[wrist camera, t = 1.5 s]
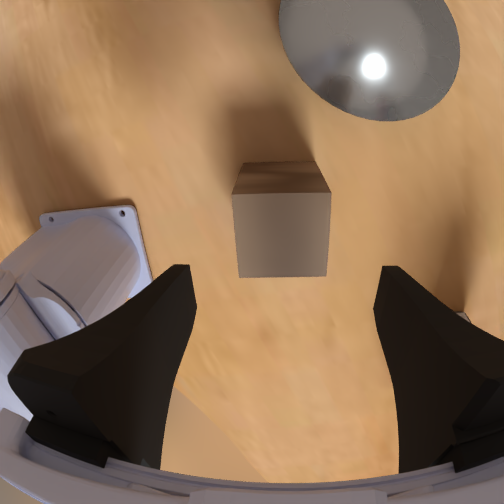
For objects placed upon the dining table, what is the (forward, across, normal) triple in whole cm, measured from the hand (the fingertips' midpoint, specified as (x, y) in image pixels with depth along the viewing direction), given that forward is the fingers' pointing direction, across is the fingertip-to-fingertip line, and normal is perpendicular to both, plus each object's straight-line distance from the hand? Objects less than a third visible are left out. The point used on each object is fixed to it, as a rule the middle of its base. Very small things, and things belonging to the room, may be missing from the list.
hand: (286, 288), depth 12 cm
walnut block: (+10, 0, 0) cm, 10 cm away
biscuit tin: (+10, -5, -10) cm, 16 cm away
